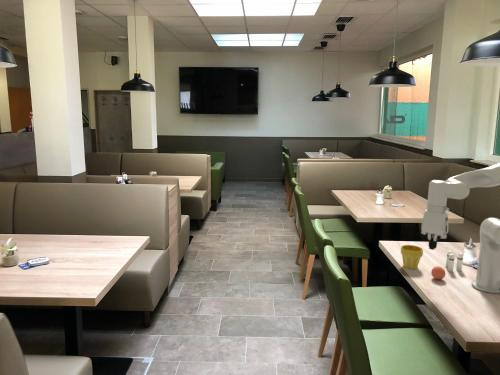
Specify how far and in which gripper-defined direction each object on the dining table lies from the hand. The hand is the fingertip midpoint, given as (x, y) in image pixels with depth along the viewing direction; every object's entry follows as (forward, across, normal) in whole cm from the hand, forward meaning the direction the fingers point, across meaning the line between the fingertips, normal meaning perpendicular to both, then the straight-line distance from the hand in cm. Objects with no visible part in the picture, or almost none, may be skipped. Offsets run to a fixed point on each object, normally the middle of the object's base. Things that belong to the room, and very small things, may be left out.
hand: (432, 248), depth 180 cm
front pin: (+17, 0, -25) cm, 30 cm away
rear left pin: (+17, +2, -29) cm, 34 cm away
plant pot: (+17, +16, -16) cm, 28 cm away
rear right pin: (+17, -3, -29) cm, 34 cm away
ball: (+14, 0, -10) cm, 17 cm away
